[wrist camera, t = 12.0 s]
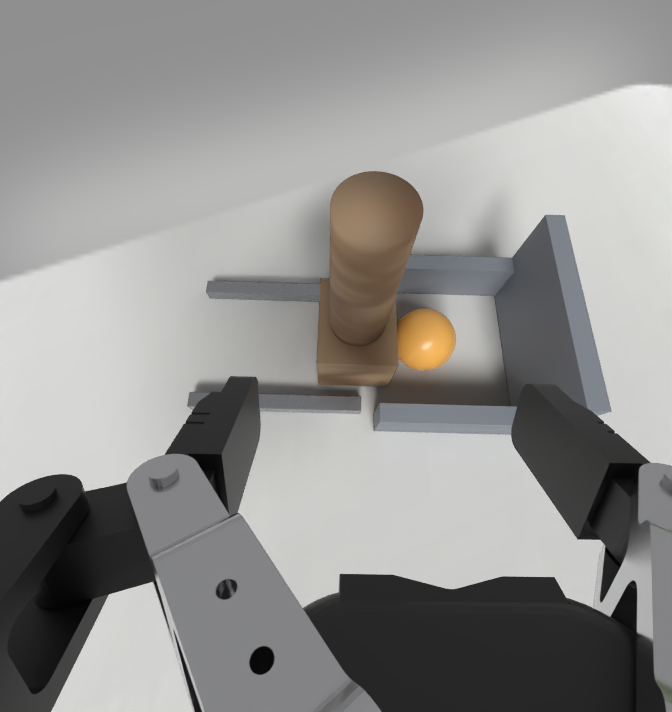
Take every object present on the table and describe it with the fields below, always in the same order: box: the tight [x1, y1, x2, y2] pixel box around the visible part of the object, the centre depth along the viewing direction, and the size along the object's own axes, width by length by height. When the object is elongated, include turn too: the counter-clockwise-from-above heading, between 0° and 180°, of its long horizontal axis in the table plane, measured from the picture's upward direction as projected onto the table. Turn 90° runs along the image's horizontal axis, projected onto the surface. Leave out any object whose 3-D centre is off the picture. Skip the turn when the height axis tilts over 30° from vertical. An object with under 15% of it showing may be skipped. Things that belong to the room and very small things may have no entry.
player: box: [317, 171, 423, 386], centre depth 21 cm, size 5×6×15 cm
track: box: [187, 281, 361, 414], centre depth 28 cm, size 12×10×1 cm
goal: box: [374, 215, 612, 434], centre depth 25 cm, size 11×12×8 cm
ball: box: [397, 308, 456, 370], centre depth 26 cm, size 4×4×4 cm
